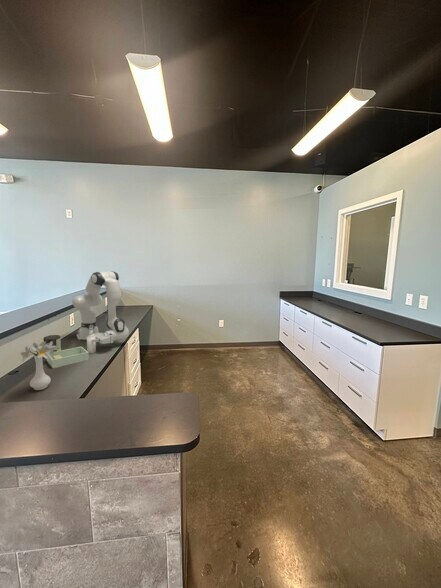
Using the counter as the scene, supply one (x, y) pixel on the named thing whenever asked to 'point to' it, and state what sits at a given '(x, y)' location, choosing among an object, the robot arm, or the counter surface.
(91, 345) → the milk bottle
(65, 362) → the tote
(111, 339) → the robot arm
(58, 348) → the coffee can
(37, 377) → the flower vase
